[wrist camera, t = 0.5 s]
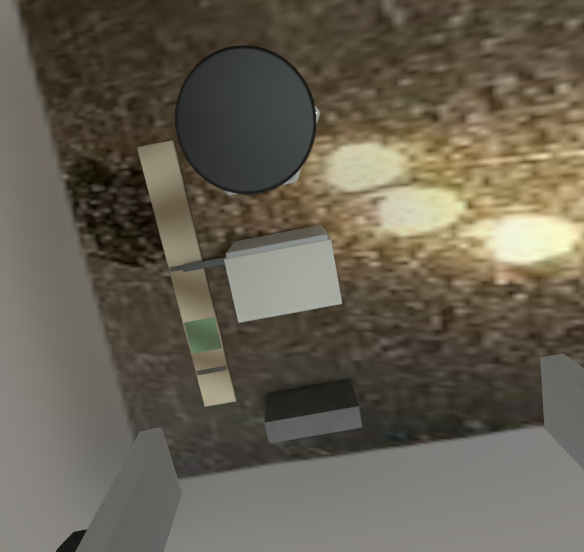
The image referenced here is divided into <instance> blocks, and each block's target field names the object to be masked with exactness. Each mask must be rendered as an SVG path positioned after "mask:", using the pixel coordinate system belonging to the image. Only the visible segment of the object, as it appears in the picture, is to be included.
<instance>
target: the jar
mask: <svg viewBox="0 0 584 552" xmlns="http://www.w3.org/2000/svg"><path fill="white" fill-rule="evenodd" d="M319 116H320V111H319V109H318V108H317V107H316V106H315V104H314V100H313V97H312V94H311V92H310V89H309V87H308V85H307V84H306V82H305V80H304V79H303V77H302V76H301V74H300V73H299V72H298V71H297V70H296V68H295V67H294V66H293V65H292V64H290V63H289V62H288V61H287V60H285V59H284V58H283V57H281V56H279V55H278V54H276V53H274V52H272V51H269V50H267V49H264V48H260V47H255V46H233V47H228V48H224V49H221V50H219V51H216V52H214V53H212V54H211V55H209V56H207V57H206V58H204V59H203V60H202V61H201V62H199V63H198V64H197V65H196V66H195V67H194V68H193V69H192V71H191V72H190V73H189V75H188V76H187V78H186V79H185V81H184V83H183V85H182V87H181V89H180V92H179V95H178V99H177V103H176V109H175V127H176V133H177V138H178V141H179V144H180V147H181V149H182V152H183V154H184V155H185V157H186V159H187V161H188V162H189V164H190V165H191V166H192V167H193V169H194V170H195V171H196V172H197V173H198V174H199V175H200V176H201V177H202V178H204V179H205V180H206V181H207V182H209V183H210V184H212V185H214V186H216V187H218V188H220V189H222V190H224V191H225V192H226V194H228V195H236V194H240V195H241V194H243V195H252V194H254V195H257V194H263V193H267V191H270V190H273V189H275V188H277V187H279V186H281V185H286V184H291V183H295V182H297V180H298V178H299V175H300V172H301V169H302V166H303V164H304V163H305V161H306V160H307V158H308V156H309V154H310V152H311V149H312V146H313V143H314V139H315V134H316V124H317V121H318V119H319Z"/></svg>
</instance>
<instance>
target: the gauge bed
mask: <svg viewBox="0 0 584 552" xmlns="http://www.w3.org/2000/svg"><path fill="white" fill-rule="evenodd" d="M137 149H138V153H139V157H140V160H141V164H142V168H143V172H144V176H145V180H146V183H147V187H148V191H149V195H150V199H151V203H152V206H153V210H154V214H155V218H156V222H157V225H158V229H159V233H160V237H161V241H162V245H163V248H164V252H165V256H166V260H167V264H168V267H169V271H170V275H171V279H172V283H173V287H174V290H175V294H176V298H177V302H178V306H179V309H180V313H181V317H182V321H183V325H184V329H185V332H186V336H187V340H188V344H189V348H190V352H191V355H192V359H193V363H194V367H195V371H196V374H197V378H198V382H199V386H200V390H201V394H202V397H203V401H204V405H205V407H206V406H211V405H217V404H223V403H228V402H234V401H236V395H235V391H234V387H233V383H232V379H231V375H230V370H229V366H228V362H227V358H226V354H225V350H224V346H223V342H222V337H221V333H220V329H219V325H218V321H217V317H216V313H215V308H214V304H213V300H212V296H211V292H210V288H209V284H208V280H207V275H206V271H205V268H204V269H198V270H193V271H188V272H183V269H182V265H183V264H188V263H193V262H198V261H203V259H202V255H201V251H200V247H199V242H198V238H197V234H196V230H195V226H194V222H193V218H192V214H191V209H190V205H189V201H188V197H187V193H186V189H185V185H184V181H183V176H182V172H181V168H180V164H179V160H178V156H177V152H176V148H175V143H174V141H173V140H172V141H167V142H162V143H157V144H152V145H147V146H142V147H137Z"/></svg>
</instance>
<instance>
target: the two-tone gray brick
mask: <svg viewBox="0 0 584 552" xmlns="http://www.w3.org/2000/svg"><path fill="white" fill-rule="evenodd" d="M265 427H266V431H267V436H268V440H269V443H274V442H280V441H286V440H292V439H297V438H303V437H309V436H315V435H321V434H326V433H332V432H338V431H344V430H349V429H355V428H361V427H362V423H361V417H360V412H359V406H358V403H357V399H356V396H355V392H354V389H353V386H352V382H351V379H347V380H341V381H335V382H330V383H324V384H318V385H313V386H307V387H302V388H296V389H290V390H285V391H279V392H273V393H268V394H267V402H266V413H265Z"/></svg>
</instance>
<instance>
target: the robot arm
mask: <svg viewBox="0 0 584 552" xmlns="http://www.w3.org/2000/svg"><path fill="white" fill-rule="evenodd" d="M540 360H541V376H542V392H543V409H544V425H545V429H546V430H547V431H548V433H550V435H552V437H553V438H554V439H555V440H556V441H557V442H558V443H559V444H560V445H561V446H562V447H563V448H564V449H565V450H566V451H567V453H569V455H570V456H571V457H572V458H573V459H574V460H575V461H576V462H577V463H578V464H579V465H580V466H581V467H582V468H583V469H584V368H583V367H581V366H580V365H579V364H577V363H576V362H574V361H573V360H572V359H570V358H569V357H567V356H566V355H565V354H558V355H553V356H547V357H542V358H540ZM181 494H182V492H181V488H180V486H179V482H178V479H177V476H176V472H175V469H174V466H173V463H172V460H171V456H170V453H169V450H168V447H167V444H166V440H165V437H164V434H163V431H162V428H156V429H150V430H145V431H140V433H139V434H138V436H137V438H136V440H135V442H134V444H133V446H132V447H131V449H130V451H129V453H128V455H127V457H126V459H125V460H124V462H123V464H122V466H121V468H120V470H119V472H118V473H117V475H116V477H115V479H114V481H113V483H112V485H111V486H110V488H109V490H108V492H107V494H106V496H105V498H104V499H103V501H102V503H101V505H100V507H99V509H98V511H97V512H96V514H95V516H94V518H93V520H92V522H91V524H90V526H89V528H88V529H87V530H81V531H76V532H73V533H72V534H71V535H70V536H69V537H68V538H67V540H66V541H64V542H63V544H62V545H61V546H60V547H59V548H58V549H57V551H56V552H163V551H164V548H165V545H166V542H167V539H168V536H169V532H170V529H171V526H172V523H173V520H174V516H175V513H176V510H177V507H178V504H179V501H180V497H181Z"/></svg>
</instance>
